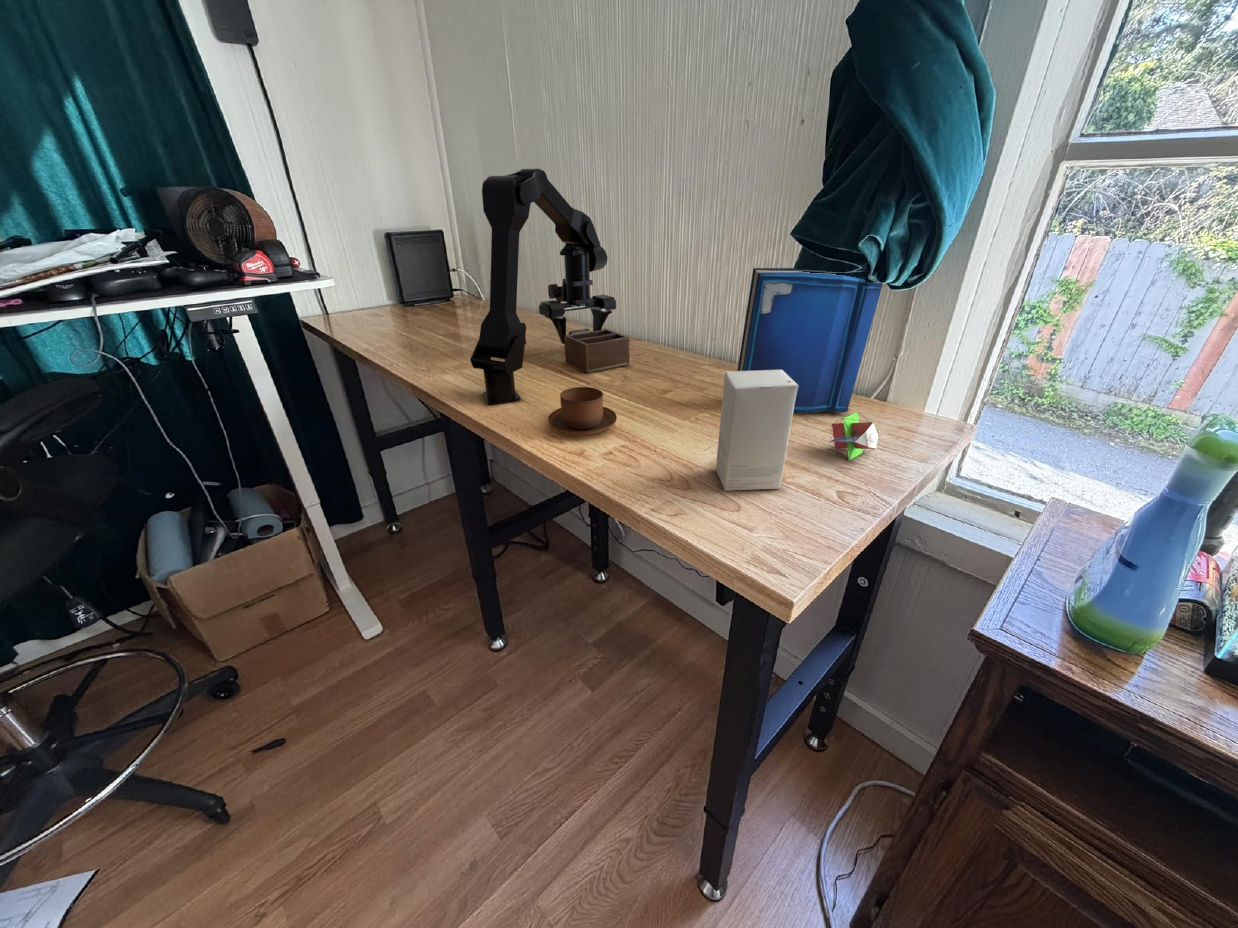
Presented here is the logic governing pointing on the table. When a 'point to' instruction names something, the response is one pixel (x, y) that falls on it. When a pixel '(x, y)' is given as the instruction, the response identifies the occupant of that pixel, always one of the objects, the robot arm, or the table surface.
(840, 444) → the geometric puzzle
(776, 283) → the book
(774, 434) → the cosmetic box
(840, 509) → the table surface
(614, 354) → the shelf
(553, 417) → the cup and saucer
